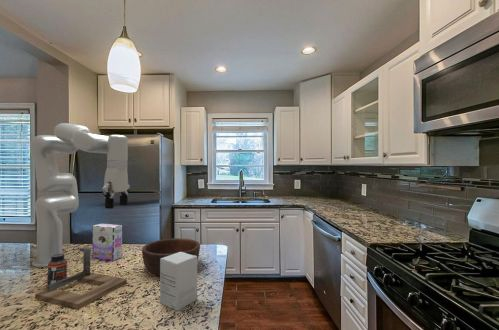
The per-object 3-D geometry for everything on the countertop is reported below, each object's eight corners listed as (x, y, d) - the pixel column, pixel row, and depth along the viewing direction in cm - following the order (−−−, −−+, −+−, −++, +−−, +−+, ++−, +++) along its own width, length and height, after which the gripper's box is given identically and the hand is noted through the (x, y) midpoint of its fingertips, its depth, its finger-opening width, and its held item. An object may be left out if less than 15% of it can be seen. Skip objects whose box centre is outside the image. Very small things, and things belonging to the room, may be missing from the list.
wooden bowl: (135, 282, 102) (136, 256, 102) (147, 260, 126) (147, 239, 126) (200, 277, 107) (200, 252, 107) (199, 257, 131) (199, 236, 131)
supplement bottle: (56, 288, 95) (56, 258, 96) (43, 287, 97) (43, 256, 97) (70, 282, 101) (70, 253, 102) (57, 280, 103) (58, 251, 103)
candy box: (122, 257, 129) (123, 224, 129) (112, 261, 124) (113, 227, 124) (101, 254, 134) (102, 222, 134) (91, 258, 128) (91, 225, 128)
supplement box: (180, 292, 93) (180, 250, 94) (197, 299, 88) (198, 255, 89) (158, 303, 86) (159, 257, 86) (176, 311, 81) (177, 263, 81)
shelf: (32, 297, 89) (32, 262, 89) (85, 275, 108) (86, 246, 108) (77, 309, 82) (78, 271, 82) (126, 283, 101) (127, 252, 101)
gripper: (120, 165, 116) (120, 203, 115) (94, 164, 99) (93, 209, 98) (136, 165, 115) (136, 204, 115) (113, 164, 98) (112, 210, 98)
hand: (116, 206), depth 107 cm, fingers open, 9 cm apart
